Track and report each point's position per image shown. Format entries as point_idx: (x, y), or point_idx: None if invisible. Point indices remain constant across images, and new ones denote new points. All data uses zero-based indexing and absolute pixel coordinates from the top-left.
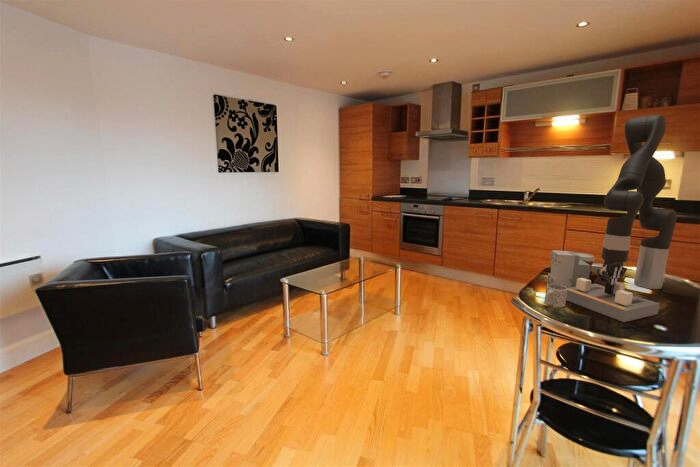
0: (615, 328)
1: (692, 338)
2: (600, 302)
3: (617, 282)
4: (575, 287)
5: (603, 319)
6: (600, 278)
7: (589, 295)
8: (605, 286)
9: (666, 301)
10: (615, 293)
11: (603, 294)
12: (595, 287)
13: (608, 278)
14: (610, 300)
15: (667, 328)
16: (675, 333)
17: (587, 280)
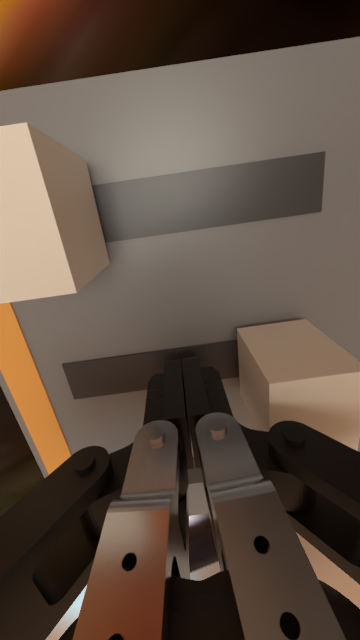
0: (5, 501)
1: (203, 564)
2: (26, 434)
3: (340, 407)
4: (53, 106)
5: (18, 443)
6: (15, 509)
7: (35, 334)
8: (146, 411)
9: None
10: (242, 381)
11: (172, 337)
12: (273, 173)
13: (61, 596)
14: (115, 429)
15: (204, 521)
16: (189, 543)
17: (15, 275)
